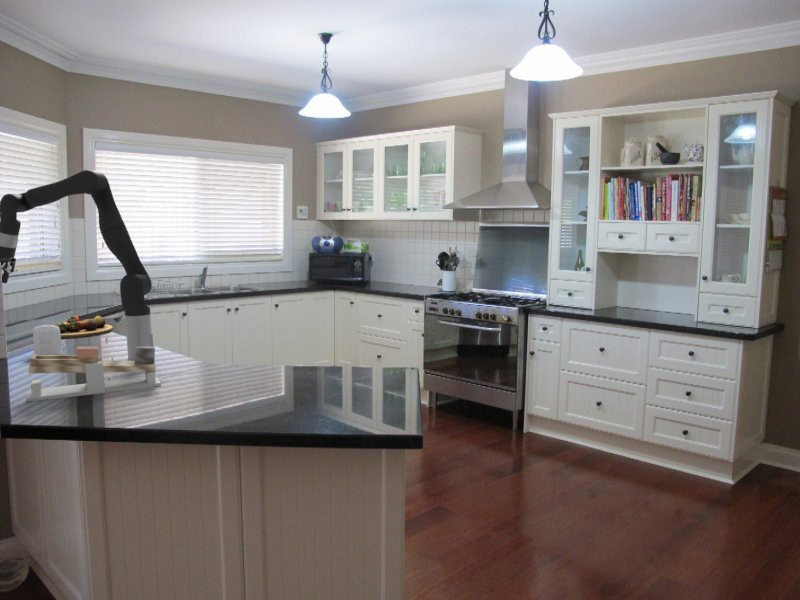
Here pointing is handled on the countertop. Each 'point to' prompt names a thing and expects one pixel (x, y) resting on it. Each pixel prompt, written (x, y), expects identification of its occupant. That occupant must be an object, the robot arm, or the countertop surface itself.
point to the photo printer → (47, 340)
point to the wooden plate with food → (83, 327)
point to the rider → (87, 352)
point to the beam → (73, 365)
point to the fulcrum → (91, 384)
